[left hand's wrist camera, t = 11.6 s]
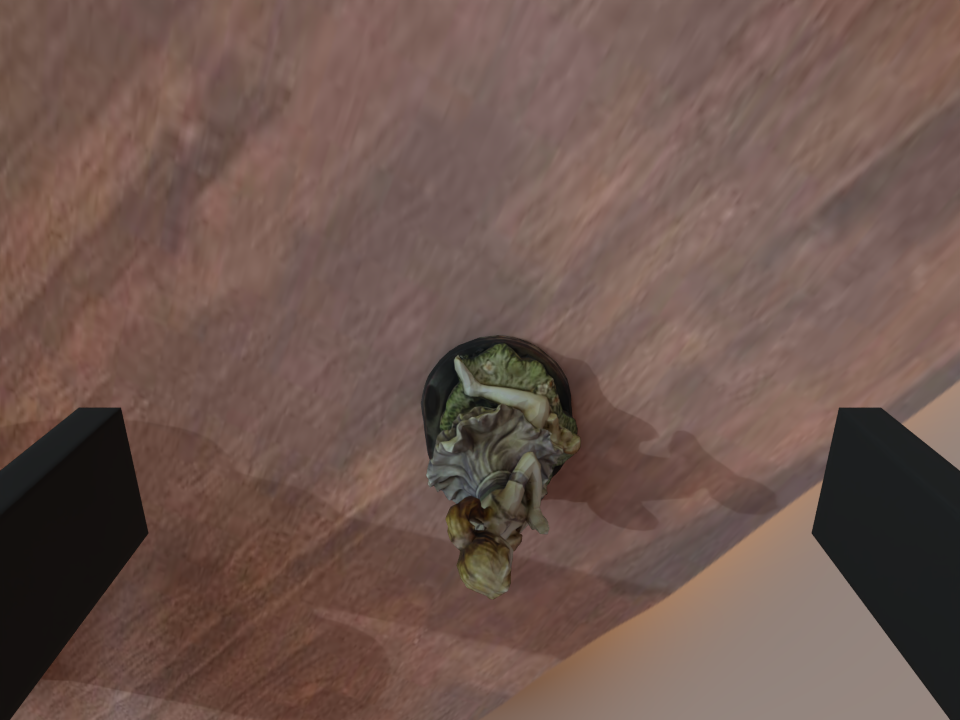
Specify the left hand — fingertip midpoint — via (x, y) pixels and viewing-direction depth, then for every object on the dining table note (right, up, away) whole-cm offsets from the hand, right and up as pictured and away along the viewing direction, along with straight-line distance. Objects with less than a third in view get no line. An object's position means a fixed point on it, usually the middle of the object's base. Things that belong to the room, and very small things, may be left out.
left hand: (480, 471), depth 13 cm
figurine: (+1, -2, +33) cm, 33 cm away
